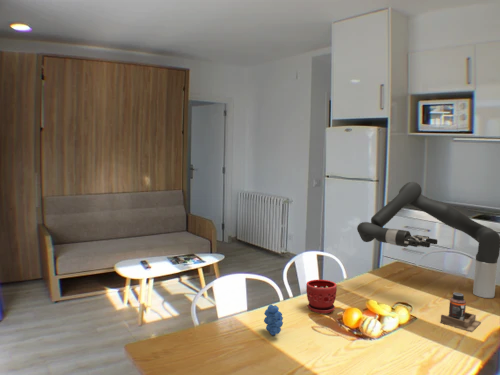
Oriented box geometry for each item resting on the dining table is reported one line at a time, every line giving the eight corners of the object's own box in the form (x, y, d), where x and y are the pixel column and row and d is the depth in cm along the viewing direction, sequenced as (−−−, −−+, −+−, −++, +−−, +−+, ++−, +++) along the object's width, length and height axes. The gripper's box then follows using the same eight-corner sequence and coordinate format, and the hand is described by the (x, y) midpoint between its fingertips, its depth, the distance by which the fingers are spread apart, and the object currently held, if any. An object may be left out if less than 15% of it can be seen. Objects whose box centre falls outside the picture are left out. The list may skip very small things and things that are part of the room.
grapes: (290, 339, 153) (291, 308, 151) (275, 342, 149) (275, 311, 148) (274, 326, 163) (275, 297, 162) (259, 329, 160) (260, 300, 159)
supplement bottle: (466, 324, 168) (468, 297, 166) (450, 322, 169) (452, 295, 168) (462, 318, 173) (464, 292, 172) (446, 316, 175) (448, 290, 173)
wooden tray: (450, 314, 178) (450, 307, 178) (480, 323, 170) (481, 316, 170) (440, 322, 170) (440, 315, 170) (471, 332, 162) (472, 324, 161)
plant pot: (340, 308, 183) (341, 282, 182) (328, 318, 172) (330, 290, 171) (312, 301, 190) (313, 276, 189) (300, 311, 179) (301, 284, 178)
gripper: (391, 231, 187) (427, 237, 176) (404, 227, 198) (439, 232, 186) (390, 247, 188) (426, 254, 177) (404, 242, 198) (438, 249, 187)
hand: (433, 243), depth 182 cm, fingers open, 8 cm apart
